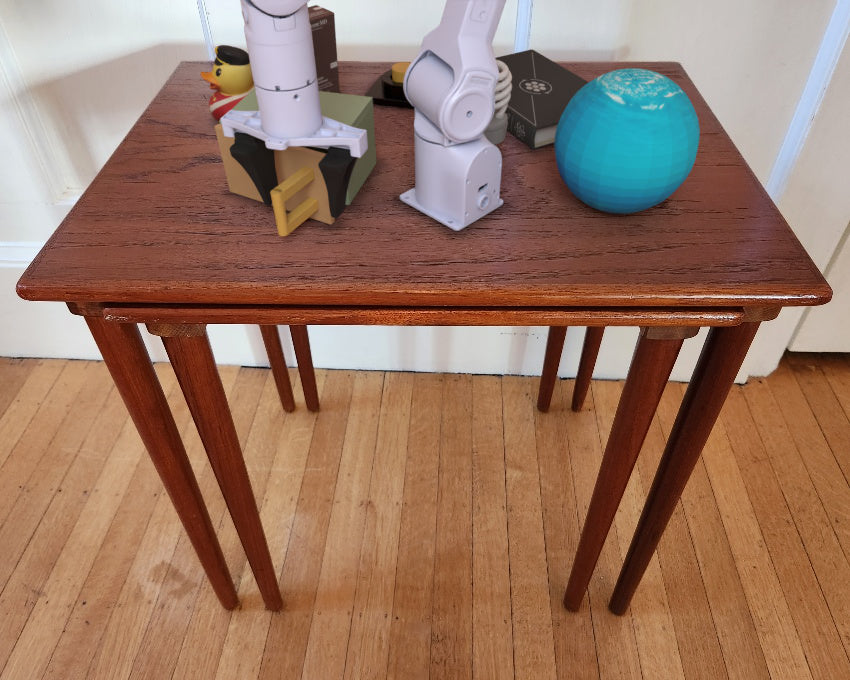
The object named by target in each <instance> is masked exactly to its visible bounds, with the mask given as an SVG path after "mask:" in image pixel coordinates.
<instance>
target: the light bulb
mask: <svg viewBox="0 0 850 680" xmlns="http://www.w3.org/2000/svg"><path fill="white" fill-rule="evenodd" d="M496 62H497V66H498V69H499V71H501V73H499V78H498V81H502V82H501V83H500V82H498V81H497V84H496V88H495V101H500V102H498V103H496V104H495V111H494V115H493V118H492V120H491V122H490V124H489V126H488V127H487V129H486V130H485V131H484V132H483V134H484V135H485V137H486V138H487V139H488V140H489V141H490V142H491V143H492V144H493V145H495V146H497V145H500V144H501V143H503V141H504V140H505V139H506V136H507V132H508V131H507V126H508V116H507V114H506V113H505V111H506V108H507V106H508V102H509V100H510V97H511V93H510V92H511V89H512V84H511V81H512V75H511V72H510V71H509V69H508V67H507V65H506V64H505V63H503V62H502V61H499V60H496ZM498 91H502V92H498ZM499 108H501V109H499Z"/></svg>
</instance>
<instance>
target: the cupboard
mask: <svg viewBox="0 0 850 680" xmlns="http://www.w3.org/2000/svg"><path fill="white" fill-rule="evenodd" d="M319 98H320V106H321V115H322V116H325V117H327V118H330V119H333V120H335V121H338V122H341V123H343V124H346V125H348V126H351V127H355V128H359V129H364V130H367V142H368V149H367V150H366V152H365V153H364V154H363V155H362V156H361V157H360V158H358V159H357V161H356V163H355V166H354V168H353V171H352V174H351V177H350V181H349V185H348V190H347V195H346V204H345V206H350V205H351V204H352V202H353V201H354V199H355V197H356V196H357V194H358V193H359V191H360V189H361V188H362V186H363V185H364V183H365V182H366V181H367V179H368V177H369V176H370V174H371V173H372V171H373V169H374V168H375V166H376V165H377V163H378V162H377V161H378V160H377V148H376V147H377V146H376V132H375V117H374V116H375V115H374V104H373V98H372V97H367V96H365V95H357V94H347V93H341V92H340V93H331V92H323V91H319ZM231 110H236V111H259V107H258V102H257V97H256V91H255V88H254V89H253V90H252V91H251V92H250V93H249V94H247V95H246V96H245V97H244V98H243V99H242V100H241V101H240V102H239V103H238V104H237V105H236V106H235V107H234V108H232V109H231ZM219 122H220V123H219ZM219 122H218V123H219V124H222V123H221V120H220V121H219ZM300 147H304V148H307V149H311V150H314V151H318V152H321V153H325V154H328V149H324V148H318V147H312V146H300Z"/></svg>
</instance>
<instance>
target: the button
mask: <svg viewBox="0 0 850 680" xmlns="http://www.w3.org/2000/svg"><path fill="white" fill-rule="evenodd" d="M410 64H411V62H408V61H401V62H396V63H394V64H392V66H391V69H392V80H393V81H395V82H400V83H403V81H404V76H405V73H406V70H407V68H408V67H409V65H410Z"/></svg>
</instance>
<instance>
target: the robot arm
mask: <svg viewBox="0 0 850 680" xmlns="http://www.w3.org/2000/svg"><path fill="white" fill-rule="evenodd" d="M239 1H240V6H241V16H242V18H243V23H244V25H243V26H244V27H243V30H244V31H243V33H244V37H245V43H246V48H247V53H248V54H249V60H250V65H251V70H252V76H253V81H254V86H255V91H256V97H257V102H258V107H259V111H236V110H230V111H229V112H227V113H226V114H225V115H224V116H223V117H221V118H220V119H221V123H222V128H223V132H224V136H225V137H235V140H234V144H233V145H232V146H231V147H230V153H231V156H232V157H233V158H234V159H235V160H236V161H237V162H238V163H239V164H240V165H241V166H242V167H243V168H244V170H245V171H246V172H247V174H248V175H249V176H250V178H251V179H252V181H253V183H254V184H255V186H256V188H257V190H258V192H259V194H260V196H261V198H262V200H263V202H264V203H263V202H262V203H263V204H264V205H265V206H268V207H271V206H272V199H271V193H270V192H271V191H272V190H273V189H274V188H276V187H277V186H278V179H277V174H276V168H275V156H274V150H285V149H287V148H288V147H294V146H312V147H318V148H324V149H328V154H326V155H325V156H324V157H323V158H322V160H321V161H320V162H319V163H318V166H319V169H320V171H321V173H322V175H323V178H324V181H325V184H326V188H327V192H328V200H329V209H330V213H331V216H332V217H334V218H335V219H338V218H340V217H341V215H342V214H343V212H344V211H345V209H346V205H345V204H346V195H347V190H348V185H349V181H350V177H351V174H352V171H353V168H354V166H355V163H356V161H357V159H358V158H360V157H361V156H362V155H363V154H364V153H365V152H366V150H367V149H368V142H367V130H364V129H359V128H355V127H351V126H348V125H346V124H343V123H341V122H338V121H335V120H333V119H330V118H327V117H325V116H322V115H321V106H320V98H319V90H318V81H317V73H316V65H315V57H314V48H313V40H312V31H311V25H310V22H309V14H308V7H309V6H308V3H309V2H311V0H239ZM506 3H507V0H446V2H445V5H444V8H443V13H442V15H441V19H440V23H439V24H438V26H437V27H435V28H434V29H432V30H430V32H428V33H427V34H426V35H425V36H424V37H423V38H422V41H421V45H420V47H419V51H418V53H417V54H416V56H415V57H414V58H413V60H412V61H411V62H410V63H411V64H410V65H409V67H408V68H407V70H406V73H405V76H404V81H403V89H404V94H405V96H406V98H407V100H408V102H409V103H410V104H411V105H412V106H414V107H415V108H414V109H413V110H414V120H413V141H414V142H413V143H414V146H413V147H414V187H413V188H411V189H408V190H407V191H405V192H402V193H401V194H400V195H399V200H400V201H401V202H403V203H405V204H406V205H408V206H411V207H412V208H413V209H416V210H417V211H419V212H421V213H423V214H425V215H426V216H428V217H429V218H432V219H433V220H435V221H437V222H438V223H441V224H442V225H444V226H446V227H448V228H449V229H451V230H453V231H457V232H458V231H461V230H463V229H464V228H466V227H468V226H469V225H472V224H474V223H475V222H476V221H478V220H480V219H481V218H483V217H484V216H486V215H488V214H490V213H491V212H493V211H495V210H497V209H498V208H500V207H502V206H503V205H504V200H503V198H500V195H501V181H502V170H503V156H502V152H501V150H500V148H499V147H497V145H493V144H492V143H491V142H490V141H489V140H488V139H487V138H486V137H485V135H484V134H483V132H484V131H485V130H486V129H487V127H488V126H489V124H490V122H491V120H492V118H493V115H494V111H495V88H496V84H497V81H498V78H499V69H498V66H497V62H496V59H495V58H496V55H495V52H494V47H493V41H494V39H495V35H496V33H497V30H498V26H499V24H500V21H501V17H502V14H503V12H504V9H505V5H506Z"/></svg>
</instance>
